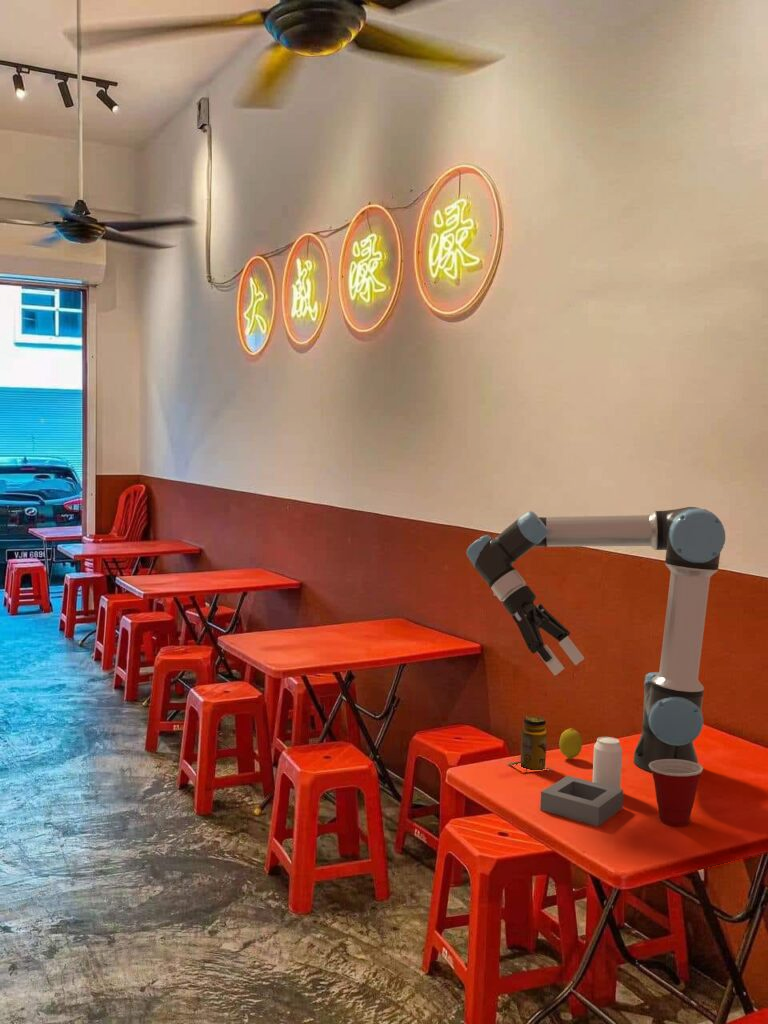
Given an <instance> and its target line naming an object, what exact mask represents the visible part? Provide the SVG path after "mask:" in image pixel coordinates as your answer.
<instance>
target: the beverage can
mask: <svg viewBox="0 0 768 1024" xmlns="http://www.w3.org/2000/svg"><path fill="white" fill-rule="evenodd" d="M592 762H593V765H592V781H591V782H595V783H599V784H603V785H607V786H610V787H614V788H618V789H621V784H622V782H621V781H622V768H623V767H622V763H623V748H622V746H621V743H620V740H619V739H618V738H616V737H613V736H612V737H611V736H599V737H598V738H596V742H595V743H594V745H593V761H592Z"/></svg>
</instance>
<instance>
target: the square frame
mask: <svg viewBox="0 0 768 1024" xmlns="http://www.w3.org/2000/svg"><path fill="white" fill-rule="evenodd" d="M623 802H624V789H621V788H620V789H618V788H614V787H610V786H607V785H603V784H599V783H595V782H592V781H590V780H587V779H583V778H579V777H575V776H570V775H566V776H564V777H563V778H561V779H560V780H558V781H557V782H554V783H553V784H551V785H550V786H548V787H546V788H544V789H543V790H541V791H540V808H539V810H540V809H541V810H540V811H542V810H544V811H543V812H545V811H547V812H546V813H549V812H550V813H549V814H552V813H554V814H553V815H556V814H557V815H556V816H559V815H560V817H562V816H564V817H563V818H566V819H569V818H570V820H574V821H577V822H580V823H583V822H584V824H587V825H590V826H593V825H594V826H593V827H597V828H598V827H599V826H601V825H602V824H603V823H605V822H606V821H608V819H610V818H611V817H613V816H614V815H615V814H617V813H618V812H619V811H621V810H622V809H623V806H624V803H623Z"/></svg>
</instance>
